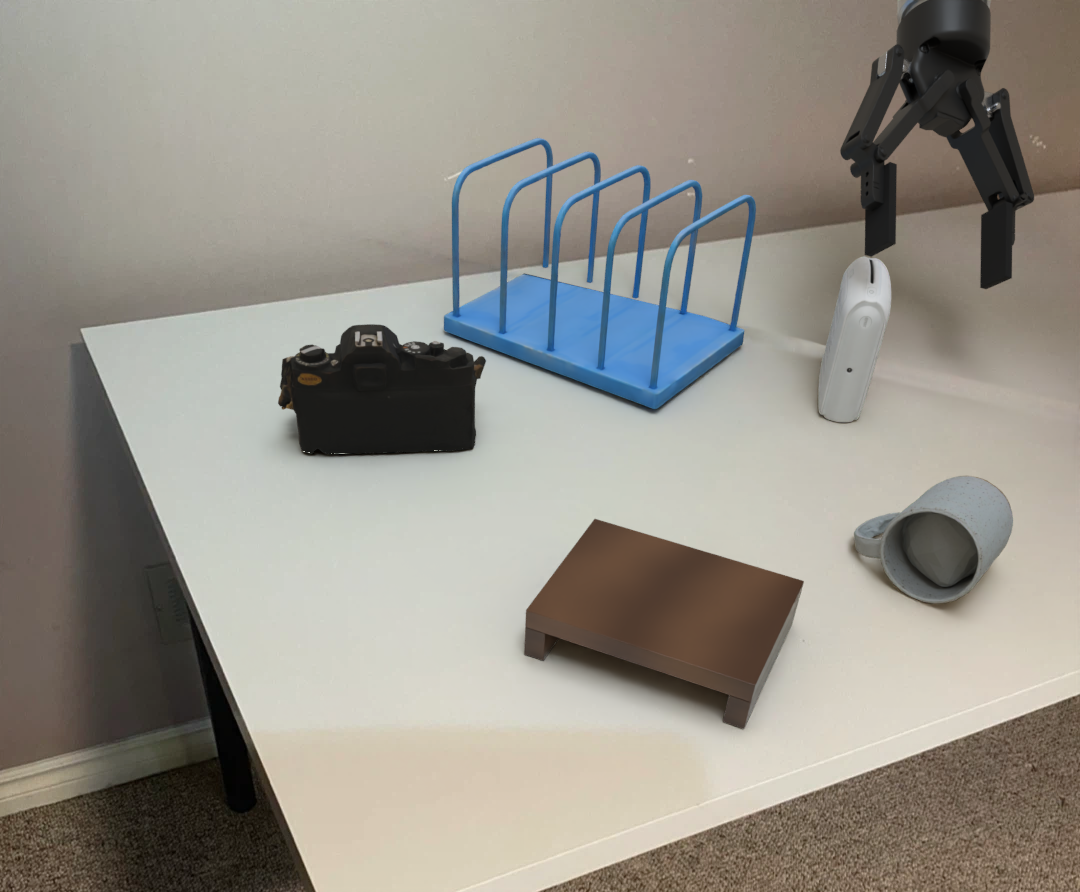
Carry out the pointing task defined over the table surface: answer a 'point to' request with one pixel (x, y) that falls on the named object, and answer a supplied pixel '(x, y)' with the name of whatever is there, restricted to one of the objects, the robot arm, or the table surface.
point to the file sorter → (598, 300)
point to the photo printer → (854, 339)
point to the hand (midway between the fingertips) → (939, 267)
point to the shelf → (668, 611)
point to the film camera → (381, 394)
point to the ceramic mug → (940, 539)
